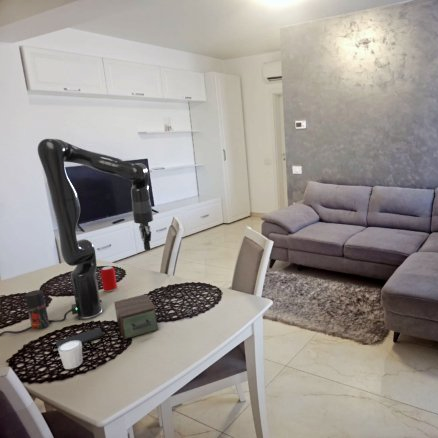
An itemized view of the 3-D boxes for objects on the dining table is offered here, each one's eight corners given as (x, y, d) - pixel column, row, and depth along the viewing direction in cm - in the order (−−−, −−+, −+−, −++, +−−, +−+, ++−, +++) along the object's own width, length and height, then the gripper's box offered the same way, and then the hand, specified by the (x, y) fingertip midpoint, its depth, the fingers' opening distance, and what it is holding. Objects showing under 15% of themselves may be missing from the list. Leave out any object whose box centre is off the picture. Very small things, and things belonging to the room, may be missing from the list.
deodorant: (52, 324, 150) (46, 290, 146) (38, 331, 144) (31, 296, 141) (42, 322, 152) (35, 289, 148) (28, 329, 146) (21, 295, 143)
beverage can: (119, 288, 184) (116, 266, 181) (108, 293, 179) (104, 270, 176) (112, 286, 187) (109, 264, 184) (101, 291, 182) (97, 268, 179)
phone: (55, 341, 135) (99, 327, 144) (55, 343, 135) (99, 329, 144) (58, 350, 129) (103, 334, 138) (59, 352, 129) (104, 336, 139)
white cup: (68, 358, 125) (64, 340, 124) (88, 357, 126) (85, 339, 124) (57, 371, 118) (53, 352, 117) (78, 369, 119) (75, 350, 117)
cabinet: (157, 329, 143) (155, 307, 141) (123, 339, 136) (120, 316, 134) (149, 314, 155) (146, 293, 153) (117, 323, 149) (114, 301, 147)
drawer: (159, 333, 138) (157, 315, 136) (127, 343, 132) (124, 324, 130) (148, 315, 153) (146, 298, 151) (119, 323, 147) (116, 305, 145)
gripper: (130, 209, 156) (135, 247, 160) (136, 214, 145) (141, 255, 149) (148, 207, 160) (152, 244, 164) (155, 212, 149) (160, 251, 153)
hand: (147, 249), depth 157 cm, fingers closed
